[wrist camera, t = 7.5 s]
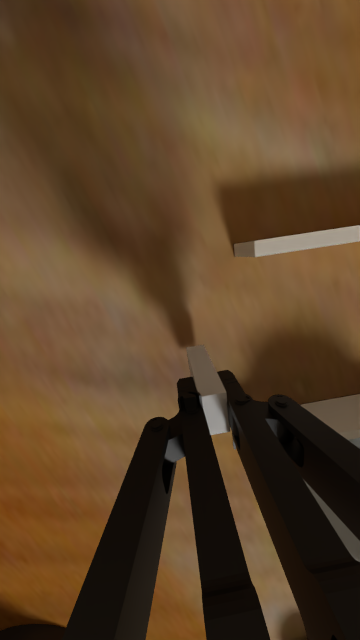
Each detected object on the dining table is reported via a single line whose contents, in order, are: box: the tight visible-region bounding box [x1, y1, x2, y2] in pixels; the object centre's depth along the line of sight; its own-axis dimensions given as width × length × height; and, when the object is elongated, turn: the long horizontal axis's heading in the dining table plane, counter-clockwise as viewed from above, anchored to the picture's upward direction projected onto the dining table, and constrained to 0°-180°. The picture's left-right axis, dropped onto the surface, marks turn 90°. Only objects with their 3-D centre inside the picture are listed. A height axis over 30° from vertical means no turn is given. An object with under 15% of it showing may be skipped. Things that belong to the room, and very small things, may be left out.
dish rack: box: [234, 225, 360, 440], centre depth 20 cm, size 17×25×4 cm
